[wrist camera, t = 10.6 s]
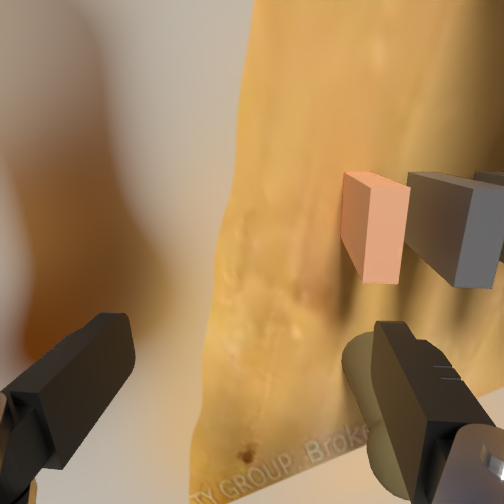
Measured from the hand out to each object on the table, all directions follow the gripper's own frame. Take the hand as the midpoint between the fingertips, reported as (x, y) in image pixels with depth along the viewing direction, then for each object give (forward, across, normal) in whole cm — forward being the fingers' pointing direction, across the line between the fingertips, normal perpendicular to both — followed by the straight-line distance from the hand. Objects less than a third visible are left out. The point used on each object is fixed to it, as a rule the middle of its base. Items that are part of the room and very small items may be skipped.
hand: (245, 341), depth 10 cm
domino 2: (+16, -11, -1) cm, 20 cm away
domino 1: (+17, -6, -1) cm, 18 cm away
